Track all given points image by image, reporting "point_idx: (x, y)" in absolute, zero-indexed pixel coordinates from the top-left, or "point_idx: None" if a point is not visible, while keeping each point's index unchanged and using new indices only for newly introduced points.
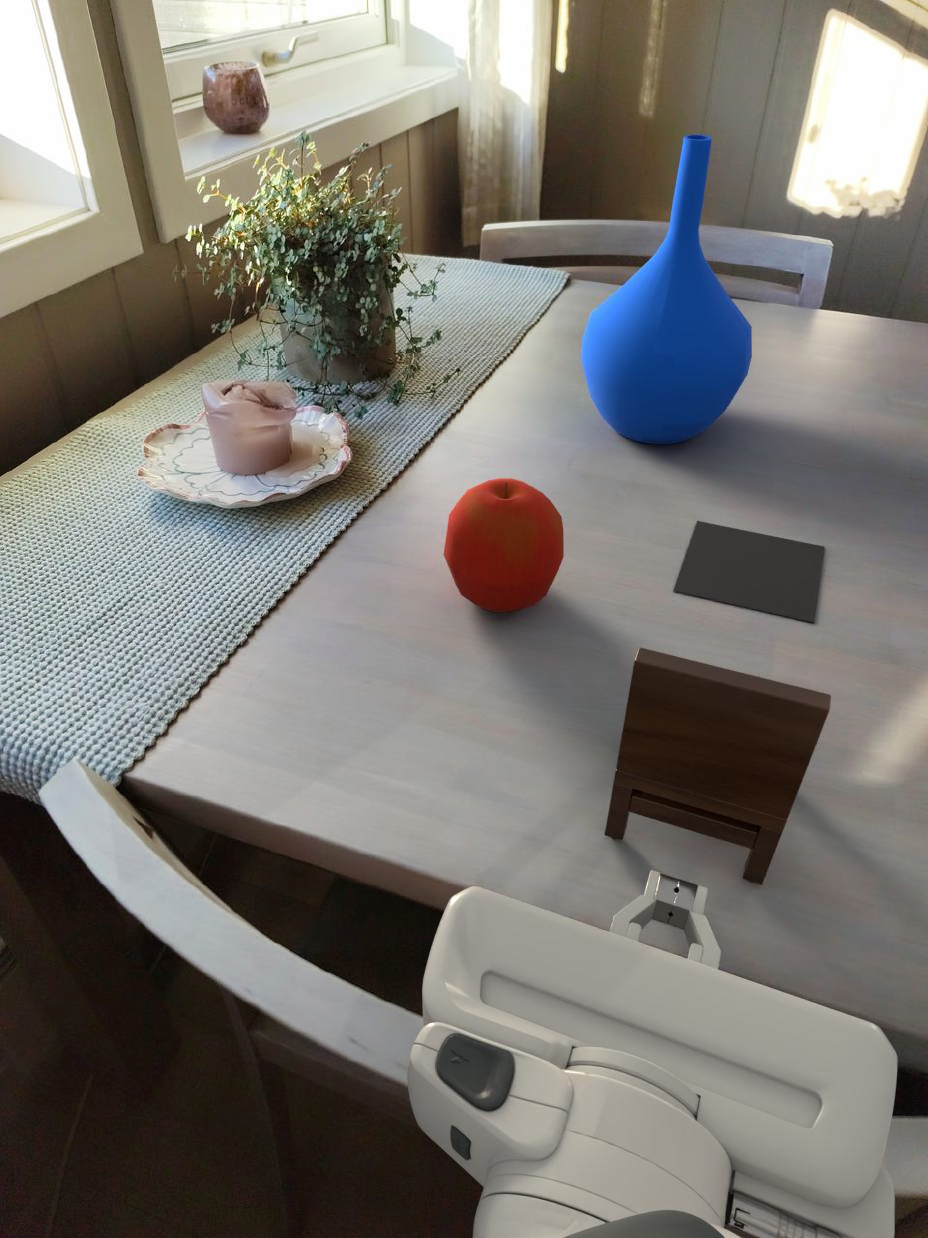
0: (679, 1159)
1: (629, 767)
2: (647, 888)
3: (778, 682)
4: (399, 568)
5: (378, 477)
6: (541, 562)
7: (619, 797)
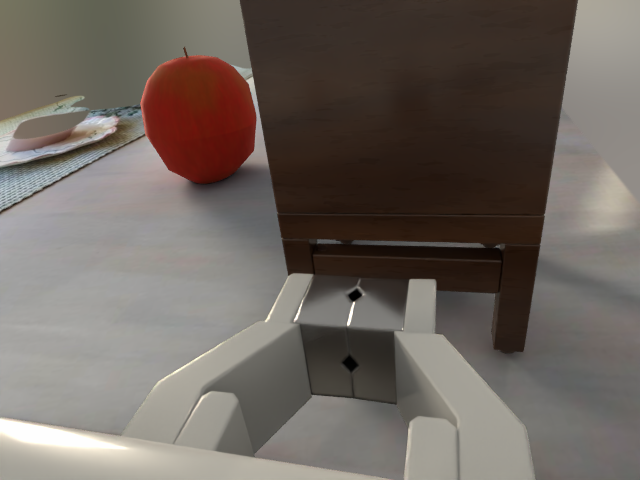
0: None
1: (293, 200)
2: (277, 305)
3: None
4: (128, 174)
5: (132, 135)
6: (227, 111)
7: (296, 261)
